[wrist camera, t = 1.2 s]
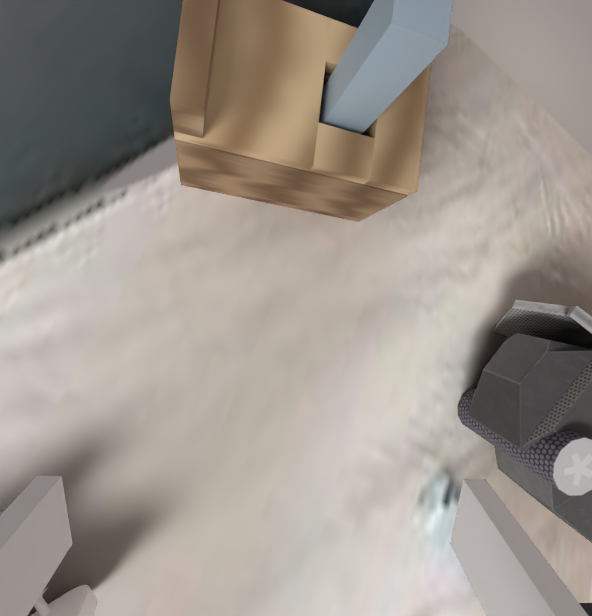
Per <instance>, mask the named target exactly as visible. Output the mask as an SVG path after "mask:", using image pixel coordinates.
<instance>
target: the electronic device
mask: <svg viewBox="0 0 592 616" xmlns="http://www.w3.org/2000/svg"><path fill="white" fill-rule="evenodd" d="M494 332H496V333H499V334H501V335H504V336H506V337H509V339H507V340H506V341H504V343H503V344H502V345H501V347H500V348H499V349H498V351H497V352H496V353H495V355H494V356H493V357H492V358H491V360H490V361H489V362H488V364H487V365H486V366H485V368H484V369H483V371H482V374H481V377H480V380H479V383H478V386H477V388H474V389H470V390H469V391H468V392H467V393H465V394H464V395H463V396H462V398H461V400H460V402H459V404H458V416H459V418H460V420H461V422H462V424H463V425H465V426H466V427H468V428H469V429H471V430H472V431H474V432H475V433H477V434H478V435H480V436H481V437H483V438H484V439H485V440H487V441H488V442H490V443H491V444H493V445H494V446H495V452H496V458H497V464H498V469H500V470H501V471H502V472H503V473H504V474H506V475H507V476H508V477H509V478H510V479H512V480H513V481H514V482H515V483H517V484H518V485H519V486H520V487H521V488H523V489H524V490H525V491H526V492H527V493H529V494H530V495H531V496H532V497H533V498H535V499H536V500H537V501H538V502H540V503H541V504H542V505H543V506H545V507H546V508H547V509H549V510H550V511H551V512H553V513H554V514H555V515H556V516H558V517H559V518H560V519H562V520H563V521H564V522H566V523H567V524H568V525H569V526H571V527H572V528H573V529H575V530H576V531H577V532H579V533H580V534H581V535H582V536H584V537H585V538H586V539H588V540H589V541H590V542H592V315H590V314H589V313H587V312H585V311H584V310H582V309H581V308H579V307H578V306H565V305H557V304H548V303H540V302H531V301H523V300H515V301H514V303H513V304H512V305H511V306H510V308H509V309H508V310H507V311H506V313H505V314H504V315H503V317H502V318H501V319H500V320H499V322H498V323H497V324H496V326H495V329H494Z"/></svg>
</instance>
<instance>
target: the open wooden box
mask: <svg viewBox="0 0 592 616" xmlns="http://www.w3.org/2000/svg"><path fill="white" fill-rule="evenodd" d="M330 76H331V74H329V73H326V72H325V73H324V81H323V88H324V86H325V85H326V83H327V81H328V79H329V78H330ZM322 90H323V89H322ZM369 133H370V126H369V127H368V128H367V129H366V130H365V131H364V132H363V133H362V135H365V136H369ZM175 143H176V150H177V158H178V166H179V173H180V181H181V185H185V186H189V187H194V188H199V189H204V190H209V191H213V192H218V193H223V194H228V195H233V196H237V197H242V198H247V199H252V200H257V201H262V202H266V203H271V204H276V205H281V206H286V207H290V208H295V209H300V210H305V211H310V212H315V213H319V214H324V215H329V216H334V217H339V218H343V219H348V220H353V221H358V222H359V221H361V220H363V219H365V218H367V217H368V216H370V215H372V214H374V213H376V212H378V211H380V210H382V209H384V208H386V207H388V206H390V205H391V204H393V203H395V202H397V201H399V200H401V199H403V198H405V197H407V196H408V195H405V194H401V193H397V192H393V191H389V190H384V189H380V188H376V187H372V186H368V185H364V184H359V183H355V182H351V181H347V180H343V179H339V178H334V177H330V176H326V175H322V174H318V173H314V172H310V171H305V170H301V169H297V168H293V167H289V166H285V165H280V164H276V163H272V162H268V161H264V160H260V159H255V158H251V157H247V156H243V155H239V154H235V153H230V152H226V151H222V150H218V149H214V148H210V147H205V146H201V145H197V144H193V143H189V142H185V141H180V140H176V139H175Z"/></svg>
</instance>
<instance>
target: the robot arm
mask: <svg viewBox="0 0 592 616" xmlns="http://www.w3.org/2000/svg"><path fill="white" fill-rule="evenodd" d="M72 544H73V543H72V537H71V530H70V524H69V518H68V512H67V506H66V499H65V493H64V487H63V481H62V476H36V477H35V478H34V479H33V480H32V481H31V483H30V484H29V485H28V486H27V487H26V488H25V489H24V490H23V491H22V492H21V493H20V494H19V496H18V497H17V498H16V499H15V500H14V501H13V502H12V503H11V504H10V505H9V506H8V507H7V509H6V510H5V511H4V512H3V513H2V514H1V515H0V616H28V614H29V612H30V611H31V609H32V608H33V606H34V604H35V603H36V601H37V600H38V598H39V597H40V595H41V593H42V592H43V590H44V589H45V587H46V585H47V584H48V582H49V581H50V579H51V577H52V576H53V574H54V573H55V571H56V569H57V568H58V566H59V565H60V563H61V561H62V560H63V558H64V557H65V555H66V553H67V552H68V550H69V549H70V547H71V545H72ZM450 544H451V546H452V548H453V550H454V552H455V554H456V556H457V558H458V560H459V562H460V564H461V566H462V568H463V570H464V572H465V573H466V575H467V577H468V579H469V581H470V583H471V585H472V587H473V589H474V591H475V593H476V595H477V597H478V599H479V601H480V603H481V605H482V607H483V609H484V611H485V613H486V615H487V616H592V603H578V601H577V600H576V599H575V597H574V596H573V595H572V593H571V592H570V591H569V589H568V588H567V587H566V585H565V584H564V583H563V581H562V580H561V579H560V577H559V576H558V575H557V573H556V572H555V571H554V569H553V568H552V567H551V565H550V564H549V563H548V561H547V560H546V559H545V557H544V556H543V555H542V553H541V552H540V551H539V550H538V548H537V547H536V546H535V544H534V543H533V542H532V540H531V539H530V538H529V536H528V535H527V534H526V532H525V531H524V530H523V528H522V527H521V526H520V524H519V523H518V522H517V520H516V519H515V518H514V516H513V515H512V514H511V512H510V511H509V510H508V508H507V507H506V506H505V504H504V503H503V502H502V500H501V499H500V498H499V496H498V495H497V494H496V492H495V491H494V490H493V489H492V487H491V486H490V485H489V483H488V482H487V481H486V479H463V484H462V489H461V494H460V499H459V504H458V508H457V513H456V518H455V523H454V528H453V533H452V538H451V542H450Z"/></svg>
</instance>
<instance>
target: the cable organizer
mask: <svg viewBox="0 0 592 616" xmlns="http://www.w3.org/2000/svg"><path fill="white" fill-rule="evenodd" d="M47 588H48V587H47ZM47 588H46V589H45V590H43V592H42V593H41V595H40V597H39V598H38V600H37V601H36V603H35V604H34V607H35V609H36V610H37V612H35V613H34V614H32V615H30V616H93V615H94V612H95V609H96V606H97V598H96V597H95V595H94V593H93V592H92V590H91V589H90V587H89V586H88V585H81V586H78V587H76V588H74V589H72V590H70V591H68V592H67V593H65V594H64V595H62V596H60V597H59V598H57V599H56V600H54V601H53V602H51V603H49V604H48V605H47V603H46V602H45V600H44V598H43V597H42V595H43V594H44V592H45V591H46V590H47Z"/></svg>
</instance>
